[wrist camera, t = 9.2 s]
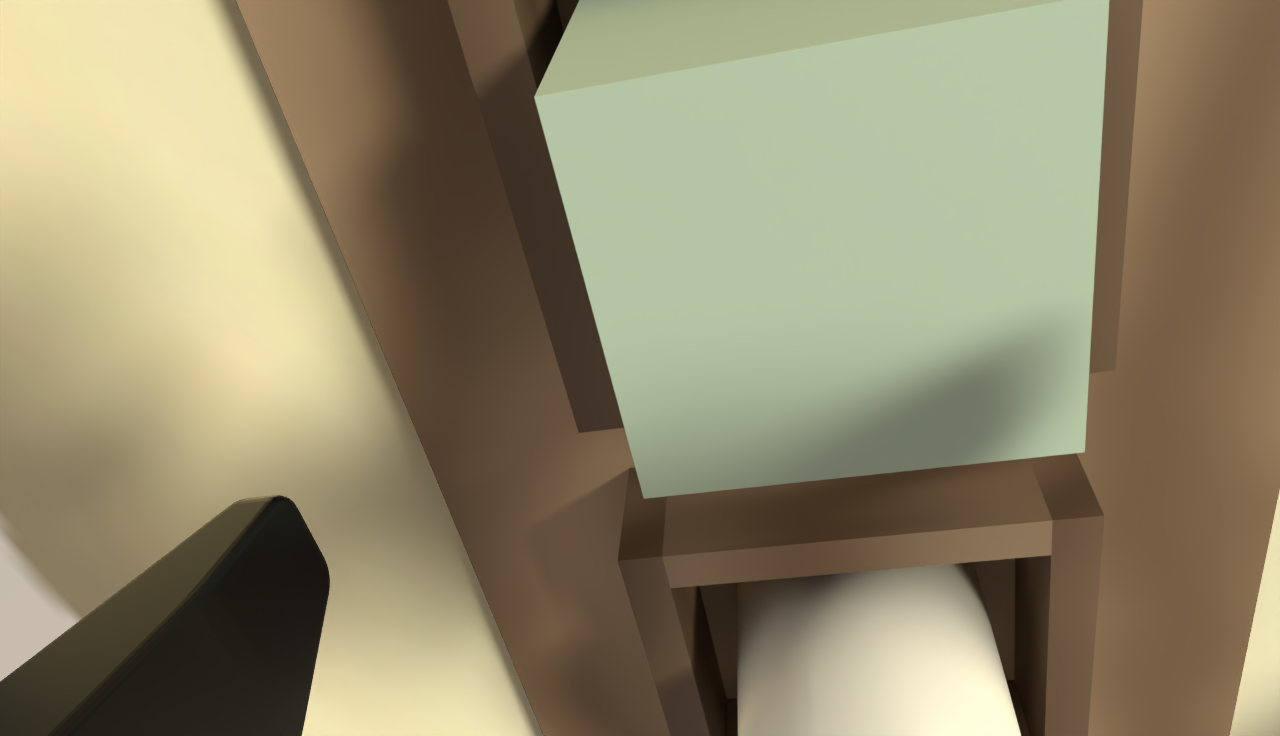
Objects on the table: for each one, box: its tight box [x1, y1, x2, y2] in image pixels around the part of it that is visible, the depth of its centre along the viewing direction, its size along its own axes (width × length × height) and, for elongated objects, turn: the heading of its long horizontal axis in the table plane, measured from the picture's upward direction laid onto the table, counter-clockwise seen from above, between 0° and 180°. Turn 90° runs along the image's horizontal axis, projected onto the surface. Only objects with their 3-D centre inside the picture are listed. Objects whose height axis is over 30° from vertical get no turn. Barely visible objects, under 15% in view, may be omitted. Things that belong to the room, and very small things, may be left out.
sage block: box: [534, 0, 1109, 499], centre depth 13 cm, size 5×5×6 cm
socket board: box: [236, 0, 1280, 736], centre depth 17 cm, size 16×24×4 cm, turn 12°
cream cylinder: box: [737, 562, 1021, 736], centre depth 19 cm, size 5×5×6 cm
